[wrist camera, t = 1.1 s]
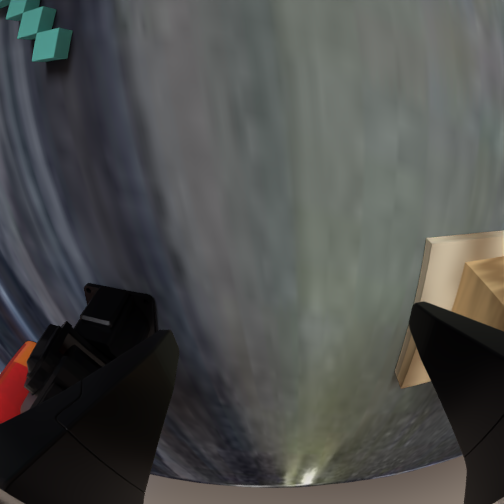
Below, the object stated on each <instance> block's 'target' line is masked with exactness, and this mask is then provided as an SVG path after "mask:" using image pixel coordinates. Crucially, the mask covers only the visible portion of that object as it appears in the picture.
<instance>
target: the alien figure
mask: <svg viewBox="0 0 504 504" xmlns="http://www.w3.org/2000/svg"><path fill="white" fill-rule="evenodd" d="M40 1H41V0H0V9H1V8H3V7H5V6H8V5H9V8H8V12H7V16H6V19H7V20H15V21H20V20H21V24H20V28H19V33H18V37H17V39H28V40H32V39H36V40H35V45H34V50H33V56H32V62H48V61H54V60H60V59H67V58H68V52H69V47H70V41H71V36H72V32H73V31H72V30H67V29H63V28H56V29H52V26H53V22H54V18H55V14H56V9H52V8H49V7H45V6H42V7H39V4H40Z"/></svg>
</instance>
